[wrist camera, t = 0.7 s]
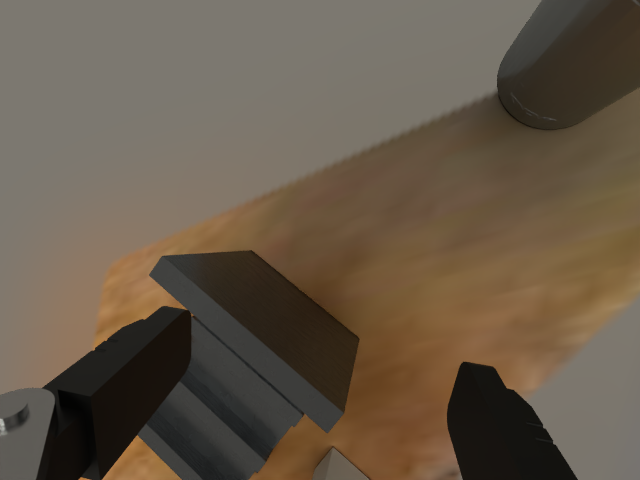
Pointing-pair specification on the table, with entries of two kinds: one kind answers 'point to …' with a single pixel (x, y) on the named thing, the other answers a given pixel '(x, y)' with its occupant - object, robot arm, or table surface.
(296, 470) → the table surface
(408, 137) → the table surface
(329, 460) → the light grey block
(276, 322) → the rack
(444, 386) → the table surface
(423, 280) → the table surface
